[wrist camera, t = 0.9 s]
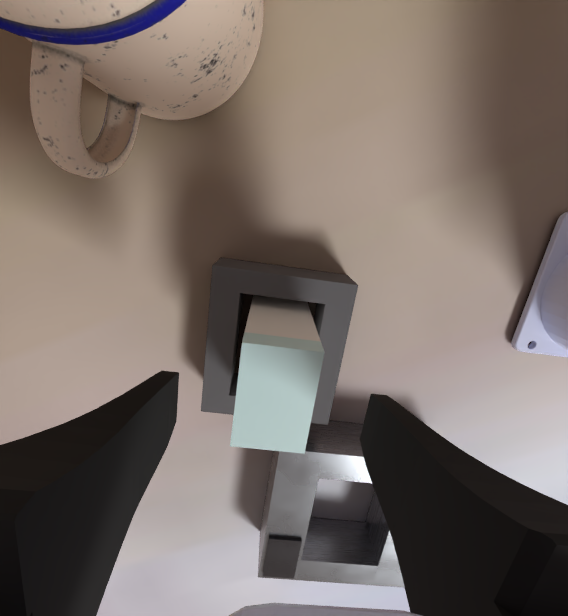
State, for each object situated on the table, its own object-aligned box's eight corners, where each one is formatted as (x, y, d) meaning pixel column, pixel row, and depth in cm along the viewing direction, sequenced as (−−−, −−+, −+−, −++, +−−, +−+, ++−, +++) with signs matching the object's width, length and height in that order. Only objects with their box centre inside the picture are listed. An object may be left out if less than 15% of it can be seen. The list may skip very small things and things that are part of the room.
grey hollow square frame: (347, 274, 18) (358, 285, 16) (321, 399, 20) (327, 424, 18) (220, 257, 17) (212, 265, 15) (209, 386, 20) (200, 411, 17)
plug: (306, 300, 18) (324, 352, 12) (294, 370, 20) (304, 453, 13) (254, 293, 18) (242, 342, 12) (245, 364, 19) (230, 446, 13)
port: (429, 431, 21) (456, 470, 18) (392, 542, 24) (410, 593, 21) (278, 415, 21) (279, 452, 17) (259, 532, 23) (257, 582, 20)
